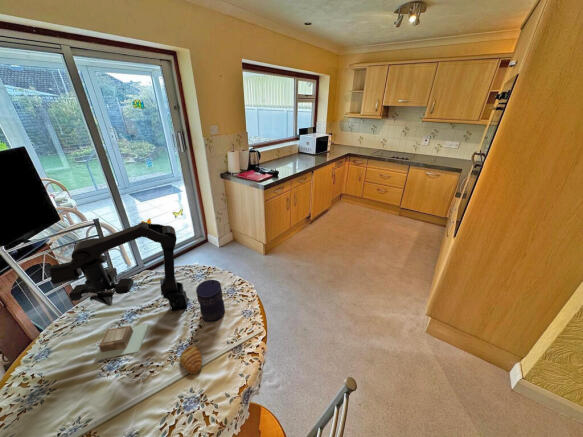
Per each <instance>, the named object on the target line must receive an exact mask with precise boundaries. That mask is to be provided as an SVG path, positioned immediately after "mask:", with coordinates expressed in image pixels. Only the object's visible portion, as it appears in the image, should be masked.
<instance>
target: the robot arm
mask: <svg viewBox="0 0 583 437" xmlns="http://www.w3.org/2000/svg"><path fill="white" fill-rule="evenodd" d="M139 238H147V239H148V240H151V241H153V242H155V243H159V244H160V247H161V249H162V252H163V270H164V277H163V278H160V279H159V280H160V295H161V296H162V297H163V299H166V300H168V304H169V306H170V308H171V309H170V311H171V312H178V311H183V310H187V309H188V305H189V297H188V296H187V292H186V291H185V289H184V285H183V283H182V282H179V281H177V279H176V276H175V248H176V244H177V238H178V237H177V234H176V230H175V227H173V226H171V225H163V224H159V223H150V222H145V221H142V222H139V223H137V224H136V225H132V226H130V227H127V228H124V229H122V230H119V231H117V232H114V233H111V234H109V235H106V236H103V237H93V238H88V239H84V240H80V241H78V242H77V243H76V244H75V247H74V248H73V250H72V253H71V260H70V261H67V262H63V263H58V264H57V263H56V264H52V265H50V267H49V272H50V273H49V274H50V281H51V283H52V284H53V285H54V286H58V285H61V284H62V285H63V284H65V283H70V282H73V281H78V280H79V279H80V277H81V276H82V275H83V276H84V277H85V281H84V283H82V284H76V285H75V287H74V288H73V289H72V290H71V291H70V292H69V294H68V298H69V300H70V301H71V302H73V301H74V302H75V301H80V300H81V299H82V298H83V294H88V296H90V297H89V300H90V301H92V300H94V301H96V302H99V303H101V304H103V305H106V306H108V307H110V306H112V305H113V299H114V294H118V295H122V294H123V295H124V294H127V293H130V291H131V289H132V287H133V285H134V283H135V282H134V279H133V278H132V277H128V278H127V277H126V278H120V279H119V280H118V281H117V282H116V281H115V277H117V276H118V270H117V267H111V268H109V267H108V268H105V267H104V263H107V258H108V256H107V255H104V253H105V252H107V251H109V250H112V249H113V248H116V247H120V246H122V245H124V244H127V243H129V242H132V241H134V240H137V239H139Z"/></svg>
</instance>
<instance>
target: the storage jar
mask: <svg viewBox="0 0 583 437" xmlns="http://www.w3.org/2000/svg"><path fill="white" fill-rule="evenodd" d="M222 289H223V288H222V285H221V282H220V281H218V280H217V279H207V280H204V281H202V282H200V283H199V284H198V285H197V287H196V289H195V290H196V291H195V292H196V298H197V302H198V304H199V309H200V314H201V318H202V320H203V321H204V322H206V323H208V324H209V323H216V322H219V321H220V320H222V318H224V316H225V313H226V310H225V308H226V307H225V302H224V299H223V290H222Z"/></svg>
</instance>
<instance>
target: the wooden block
mask: <svg viewBox="0 0 583 437" xmlns="http://www.w3.org/2000/svg"><path fill="white" fill-rule="evenodd" d="M132 327H133V326H131V325H125V326H120V327H115V328H108V329H107V330H106V331H105V334H104V335H103V337H102V339H101V341H100V342H99V344H98V347H99V350H100V349H101V351H102V352H106V351H112V350H117V349H122V348H127V345H128V343H129V341H130V338H131V336H132V333H133V330H132Z"/></svg>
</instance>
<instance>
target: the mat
mask: <svg viewBox="0 0 583 437" xmlns="http://www.w3.org/2000/svg"><path fill="white" fill-rule="evenodd" d="M131 327H132V330H133V333H132V336H131V338H130V341H129V343H128V345H127V348H122V349H117V350H112V351H106V352H102V351H101V349H100V348H99V351H98V353H97V355H96V357H95V358H94V361H99V360H104V359H109V358H110V359H111V358H114V357H121V356H125V355H130V354H135V353H139V352H140V350H141V348H142V344H143V342H144V339H145V335H146V334H147V330H148V328H149V323H146V324H139V325H134V326H131Z"/></svg>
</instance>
